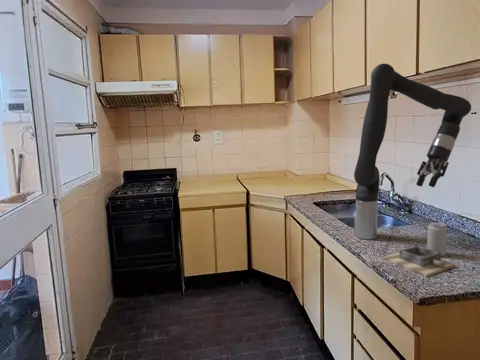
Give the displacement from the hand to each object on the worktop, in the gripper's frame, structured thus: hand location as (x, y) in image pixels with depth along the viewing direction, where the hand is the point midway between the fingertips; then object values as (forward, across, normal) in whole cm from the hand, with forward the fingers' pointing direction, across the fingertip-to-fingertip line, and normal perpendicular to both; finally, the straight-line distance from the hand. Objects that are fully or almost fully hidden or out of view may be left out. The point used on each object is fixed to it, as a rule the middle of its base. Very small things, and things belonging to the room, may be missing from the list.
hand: (424, 186), depth 137 cm
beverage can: (+23, +2, +14) cm, 27 cm away
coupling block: (+29, +9, +4) cm, 30 cm away
